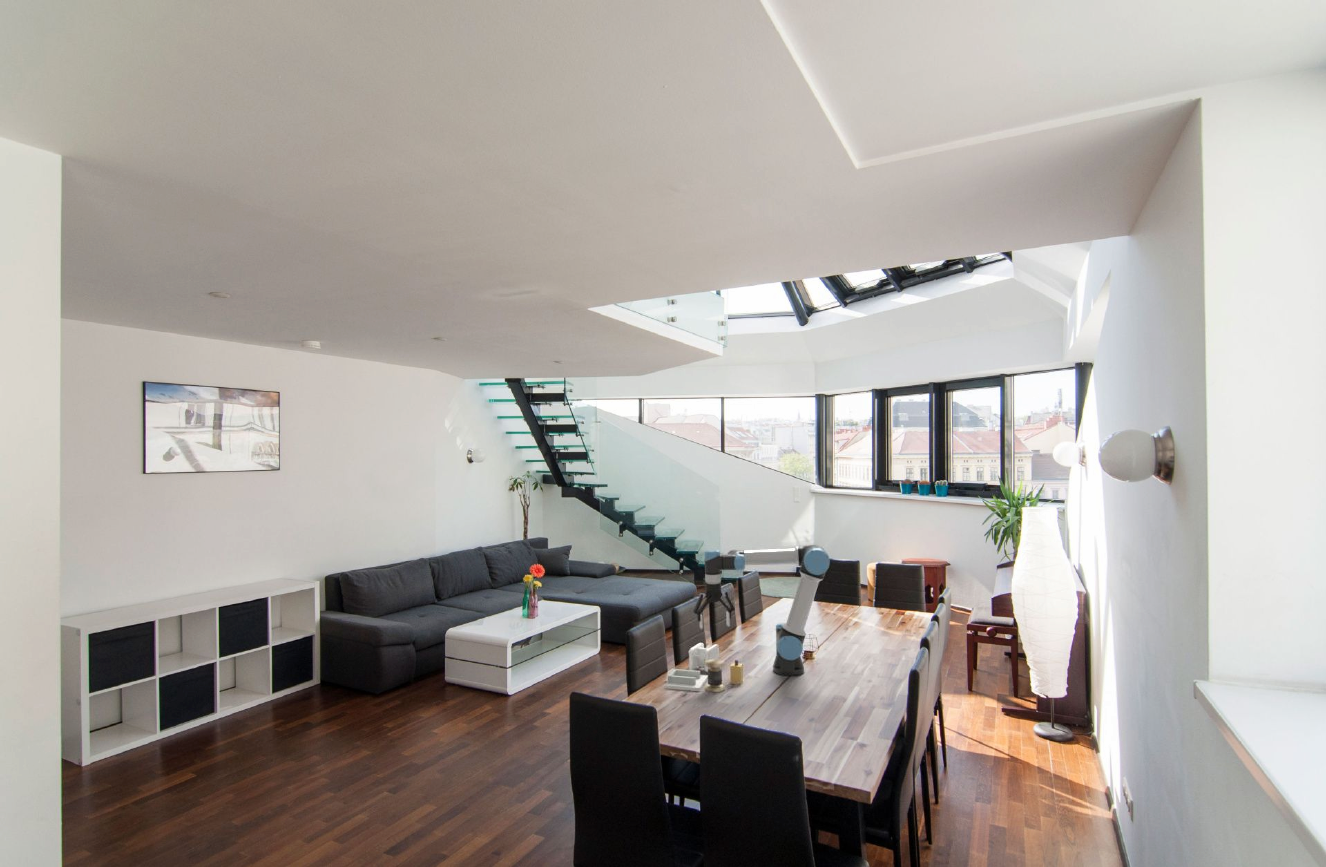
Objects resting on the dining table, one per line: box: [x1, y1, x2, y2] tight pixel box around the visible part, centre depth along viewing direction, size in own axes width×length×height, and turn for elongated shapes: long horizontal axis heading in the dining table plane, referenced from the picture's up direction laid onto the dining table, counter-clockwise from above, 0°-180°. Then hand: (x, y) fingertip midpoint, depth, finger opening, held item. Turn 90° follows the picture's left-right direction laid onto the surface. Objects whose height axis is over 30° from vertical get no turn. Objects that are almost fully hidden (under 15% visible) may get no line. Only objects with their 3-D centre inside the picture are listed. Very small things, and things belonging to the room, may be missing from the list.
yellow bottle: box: [729, 659, 744, 685], centre depth 315 cm, size 5×5×10 cm
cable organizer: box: [688, 642, 720, 673], centre depth 334 cm, size 15×11×12 cm
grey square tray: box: [665, 668, 708, 692], centre depth 314 cm, size 16×18×4 cm
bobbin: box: [704, 659, 726, 693], centre depth 306 cm, size 9×9×12 cm
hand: (714, 626), depth 323 cm, fingers open, 13 cm apart
